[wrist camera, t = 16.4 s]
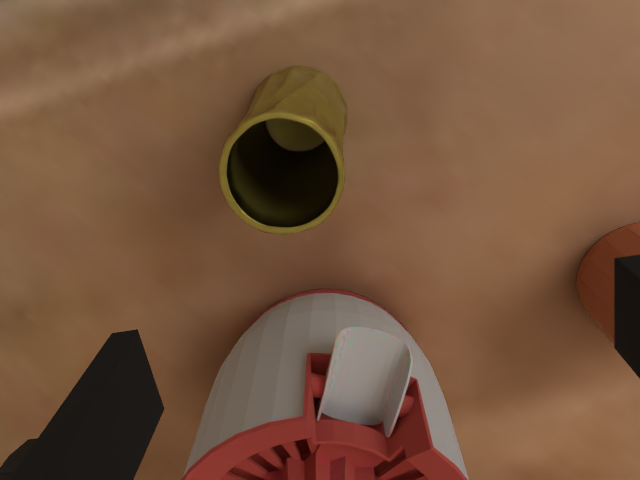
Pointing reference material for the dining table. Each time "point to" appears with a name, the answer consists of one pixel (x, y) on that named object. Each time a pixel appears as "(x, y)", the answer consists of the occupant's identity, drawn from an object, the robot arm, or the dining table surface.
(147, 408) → the robot arm
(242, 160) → the vase
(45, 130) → the dining table surface
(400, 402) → the citrus juicer
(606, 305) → the terracotta cup
